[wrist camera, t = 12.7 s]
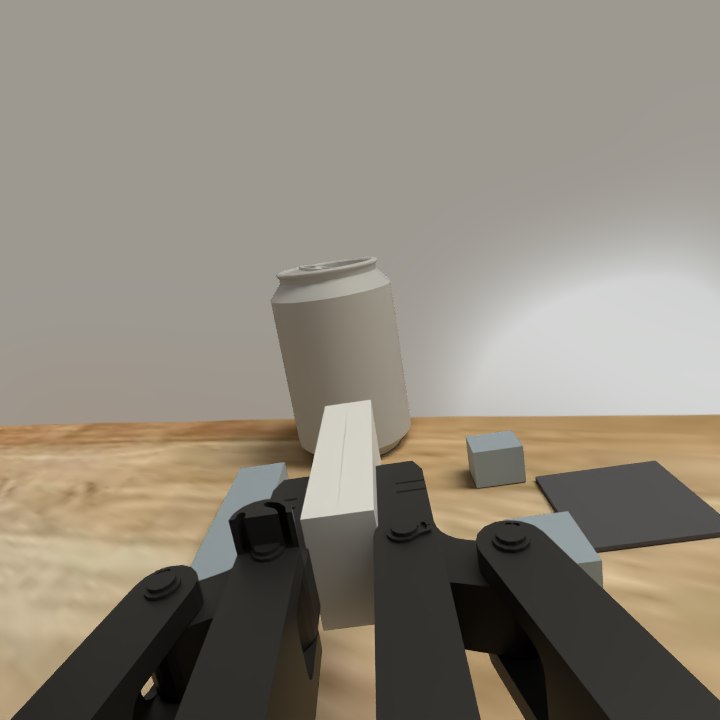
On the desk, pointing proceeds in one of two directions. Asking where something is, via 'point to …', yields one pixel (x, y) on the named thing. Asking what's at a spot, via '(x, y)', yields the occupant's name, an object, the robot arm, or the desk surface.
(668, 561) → the desk surface
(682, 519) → the trap square
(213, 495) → the desk surface
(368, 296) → the can
